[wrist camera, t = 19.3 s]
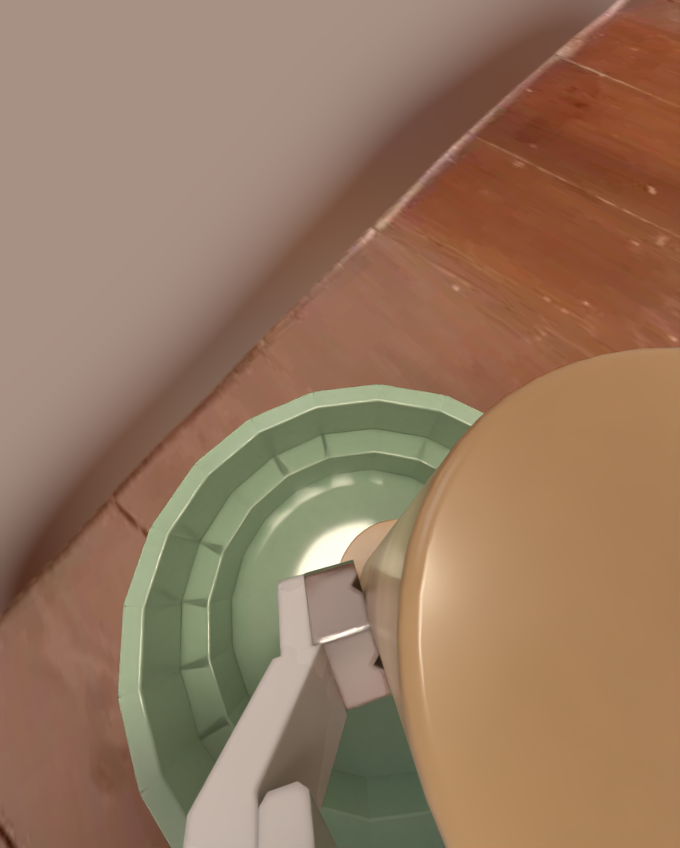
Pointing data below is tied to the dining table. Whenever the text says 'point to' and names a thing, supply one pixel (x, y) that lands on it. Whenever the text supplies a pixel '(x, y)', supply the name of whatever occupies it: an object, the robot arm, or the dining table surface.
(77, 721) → the dining table surface
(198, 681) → the mixing bowl
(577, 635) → the muddler
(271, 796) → the robot arm
